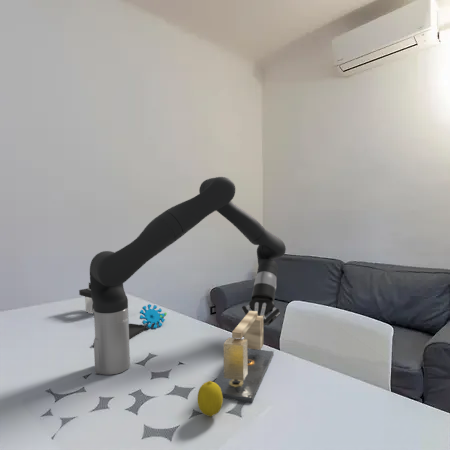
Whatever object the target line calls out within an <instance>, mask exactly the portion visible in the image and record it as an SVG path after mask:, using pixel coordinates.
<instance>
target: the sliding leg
mask: <svg viewBox="0 0 450 450" xmlns="http://www.w3.org/2000/svg"><path fill="white" fill-rule="evenodd" d="M231 338H236V339H245V340H247V348H249V349H253V350H255V349H257V350H262V348H263V347H264V326H263V316H258V311H252V310H250V311H249V312H248V313H247V315H245V316H244V317H243V318H242V319H241V320H240V322H239V323H238V325H236V326H235V328H234V329H233V330H232V331H231Z"/></svg>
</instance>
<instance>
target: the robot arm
mask: <svg viewBox="0 0 450 450" xmlns="http://www.w3.org/2000/svg"><path fill="white" fill-rule="evenodd" d="M235 194H236V185H235V183H234V181H233V180H232V179H231V178H228V177H225V176H218V177H217V176H215V177H212V178H211V177H210V178H207V179H205V180H204V181H203V182H201V184H200V186H199V193H198V194H197V195H196V196H193V197H192V198H189V199H187V200H185V201H182V202H180V203H178V204H175V205H174V206H172V207H170V208H168V209H166V210H165V211H164V212H162V213H161V214H159V215H157V216H156V217H155V218H153V219H152V220H151V221H150V222H149V223H148V224H147V225H146V227H144V229H143V230H142V232H141V233H140V234H139V235H138V236H137V237H136V238H135V239H134V240H133V241H131V242H130V243H128V244H127V245H126V246H124V247H122V248H120V249H119V250H117V251H115V252H114V251H110V250H103V251H100V252H98V253H97V254H95V256H93V258H92V259H91V262H90V265H89V283H90V286H91V297H92V301H93V305H94V313H93V317H94V319H93V320H94V321H93V322H94V338H93V343H94V347H93V351H94V353H93V354H94V358H93V359H94V374H95V375H96V374H99V375H105V376H108V375H117V374H120V373H122V372H126V371H127V370H128V369H129V368H130V366H131V355H130V353H131V351H130V340H129V324H130V321H129V320H130V319H129V299H128V296H127V294H126V292H125V289H124V283H126V282H127V281H128V280H129V279H130V278H131V277H132V276H134V274H136V272H138V271H139V270H140V269H141V268H142V267H143V266H144V265H145V264H146V263H148V262H149V261H150V260H151V259H153V258H154V257H155V256H157V255H159V254H160V253H161V252H163V251H164V250H166V249H167V248H168V247H169V246H171V245H173V244H174V243H175V242H176V241H178V240H179V239H180V238H182V237H183V236H185V234H186V233H188V232H189V231H190V230H191V229H193V228H195V227H196V226H197V225H198V224H199V223H200V222H202V221H203V220H204V219H206V218H207V217H208V216H210V215H211V214H213V213H214V212H218V214H220V215H221V216H223V218H225V219H226V220H227V221H228V222H230V223H231V224H232V225H233V226H234V227H235V228H236V229H237V230H238V231H239V232H240V233H241V234H243V235H242V236H244V237H245V238H246V239H247V240H248V241H249V242H250V243H251V244H253V245H255V246H257V249H256V256H257V257H256V258H257V264H258V265H257V266H258V267H257V272H256V276H255V279H254V283H253V288H252V294H251V298H250V299H251V300H250V301H249V303H248V305H246V306H245V305H242V307H241V309H242V312H243V313H244V315H245V316H246V315H247V313H248V312H249V311H258V316H263V327H264V326H265V327H266V326H270V325H271V324H272V323H273V322H274V321H275V320H276V319H277V318H278V317H279V316H280V315H281V312H280V309H279V308H277V307H276V306H275V297H276V296H275V295H276V291H277V277H278V271H279V265H278V263H277V262H276V261H275V260H276V259H279V258H281V257H283V256H284V255H285V253H286V251H287V248H286V245H285V243H284V241H283V240H282V239H281V238H280V237H278V236H277V235H276V234H274V233H272V232H271V231H269V230H268V229H265V227H264V225H262V224H261V223H260V221H259V220H258V219H256V218H255V217H254V216H252V214H250V213H249V212H247V211H246V210H244V209H242V208H241V207H239V206H238V205H237V204H235V203H234V202H233V201H232V200H233V199H234V197H235ZM274 259H275V260H274Z"/></svg>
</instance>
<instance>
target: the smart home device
mask: <svg viewBox="0 0 450 450" xmlns="http://www.w3.org/2000/svg"><path fill="white" fill-rule="evenodd" d="M147 328H148V327H147V324H137V323H129V341H130V340H131V339H134V338H135V337H136V336H138V335H140V334H141V333H143V332H145V331H146V330H147ZM92 346H93V348H94V342H93V344H92Z"/></svg>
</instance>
